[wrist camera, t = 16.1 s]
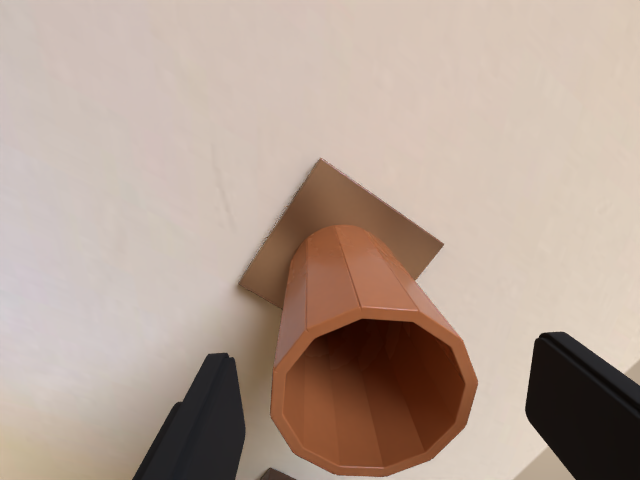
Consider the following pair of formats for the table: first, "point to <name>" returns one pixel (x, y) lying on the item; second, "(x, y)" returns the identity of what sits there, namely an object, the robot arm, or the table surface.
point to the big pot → (275, 475)
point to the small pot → (365, 360)
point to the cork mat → (326, 210)
